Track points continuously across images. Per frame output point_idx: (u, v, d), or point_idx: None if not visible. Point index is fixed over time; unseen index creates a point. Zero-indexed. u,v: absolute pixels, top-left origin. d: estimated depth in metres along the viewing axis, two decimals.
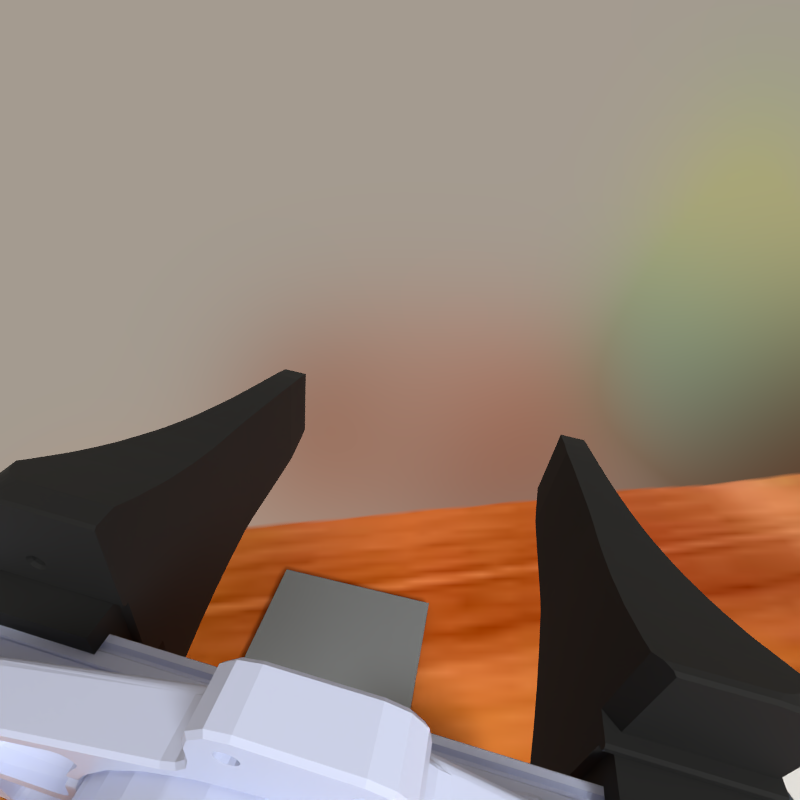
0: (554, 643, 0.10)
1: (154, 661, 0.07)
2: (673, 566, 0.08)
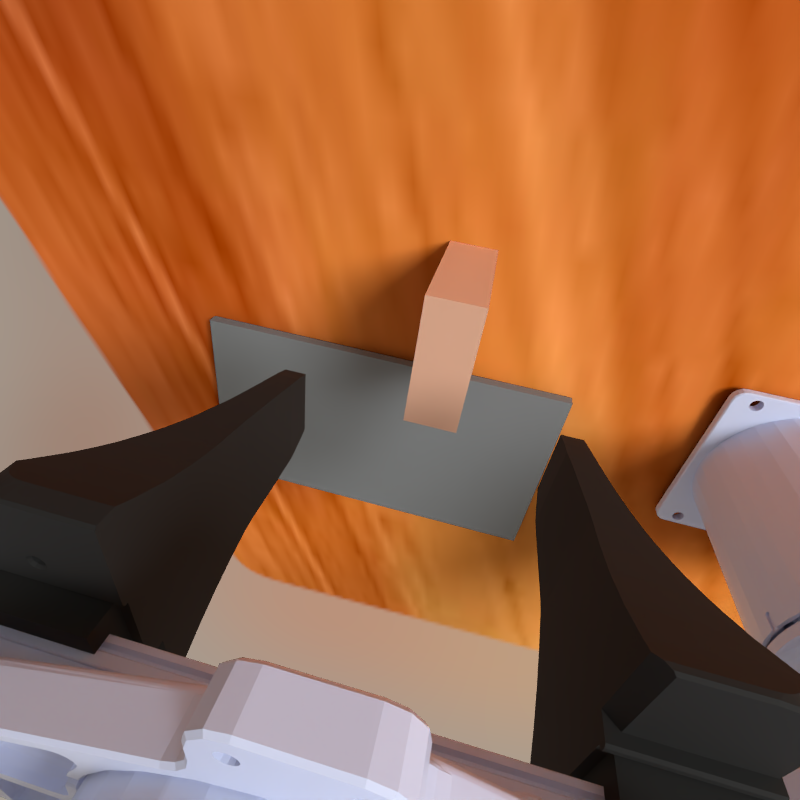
0: (554, 643, 0.10)
1: (154, 661, 0.07)
2: (673, 566, 0.08)
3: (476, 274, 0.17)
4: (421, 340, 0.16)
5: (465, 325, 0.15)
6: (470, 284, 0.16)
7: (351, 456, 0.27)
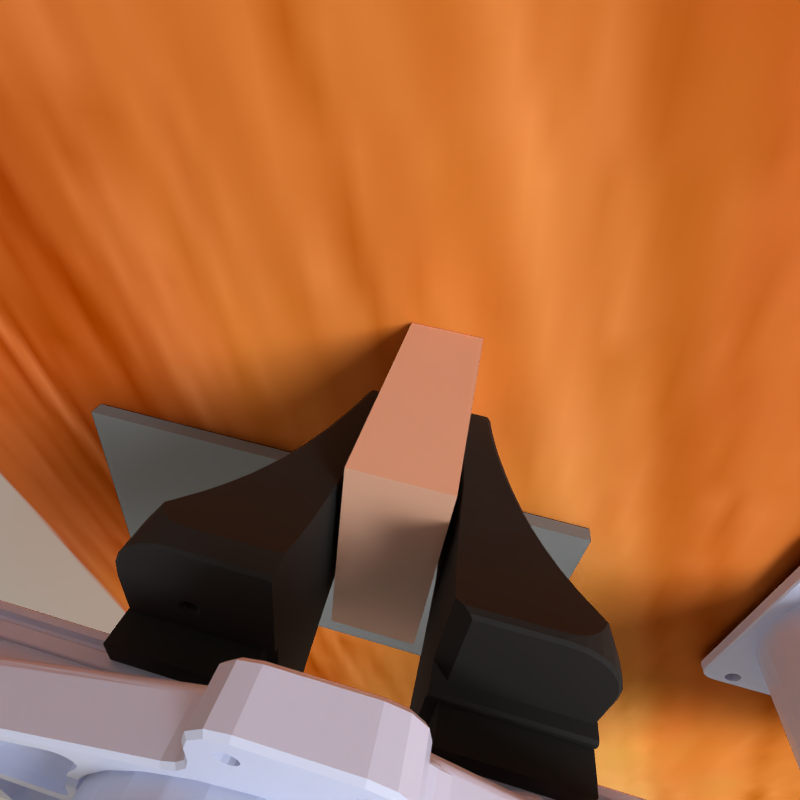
0: (433, 609, 0.10)
1: None
2: (529, 529, 0.09)
3: (444, 400, 0.10)
4: (346, 528, 0.09)
5: (418, 515, 0.09)
6: (431, 427, 0.10)
7: None
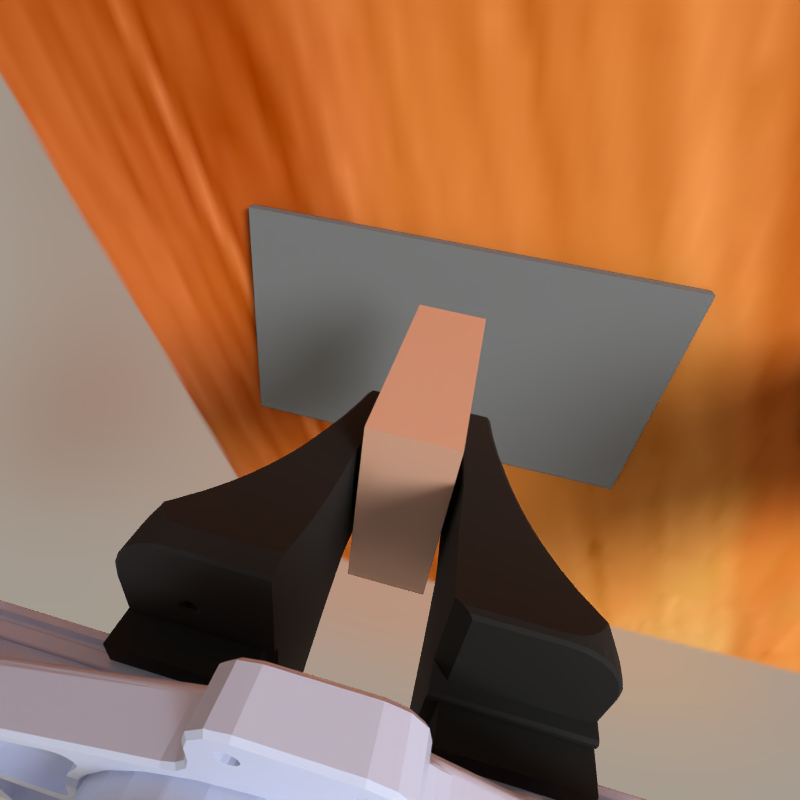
0: (433, 609, 0.10)
1: None
2: (529, 529, 0.09)
3: (451, 372, 0.11)
4: (364, 484, 0.10)
5: (429, 470, 0.10)
6: (440, 395, 0.11)
7: None
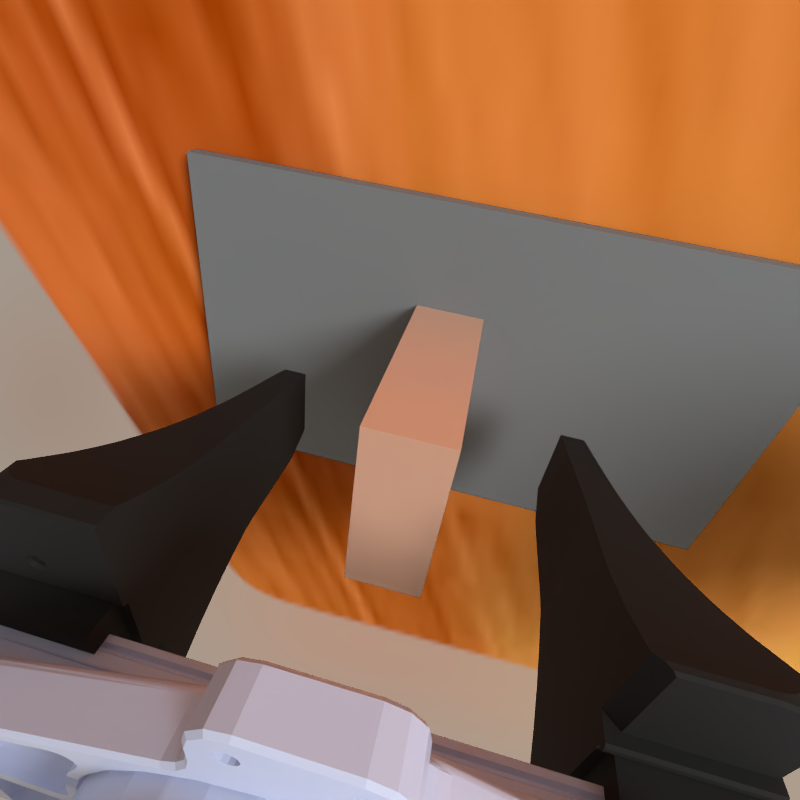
0: (554, 643, 0.10)
1: (154, 661, 0.07)
2: (673, 566, 0.08)
3: (448, 371, 0.11)
4: (360, 485, 0.10)
5: (425, 471, 0.10)
6: (436, 394, 0.10)
7: None
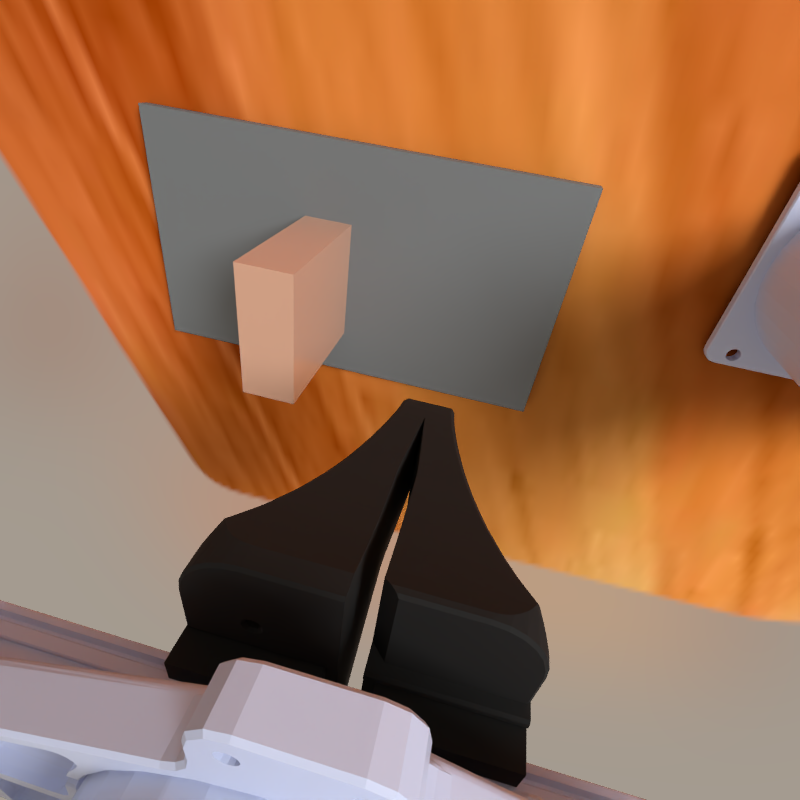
0: None
1: (154, 661, 0.07)
2: (476, 515, 0.09)
3: (307, 245, 0.17)
4: (240, 309, 0.16)
5: (276, 292, 0.15)
6: (292, 253, 0.16)
7: None
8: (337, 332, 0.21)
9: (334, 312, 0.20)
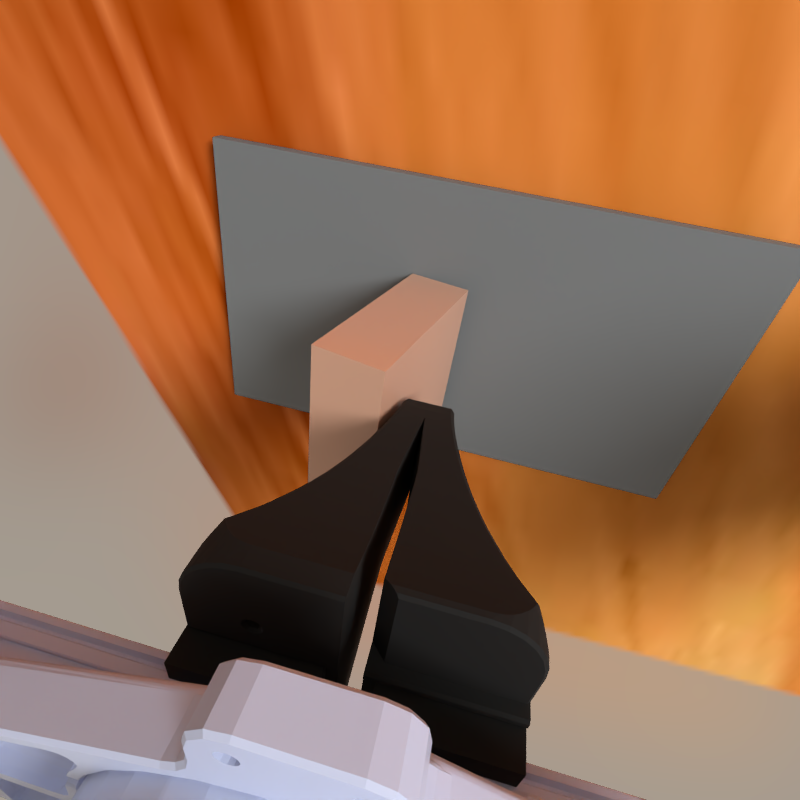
0: None
1: (154, 661, 0.07)
2: (476, 515, 0.09)
3: (410, 320, 0.13)
4: (314, 399, 0.12)
5: (360, 389, 0.11)
6: (389, 333, 0.12)
7: None
8: None
9: (432, 394, 0.16)
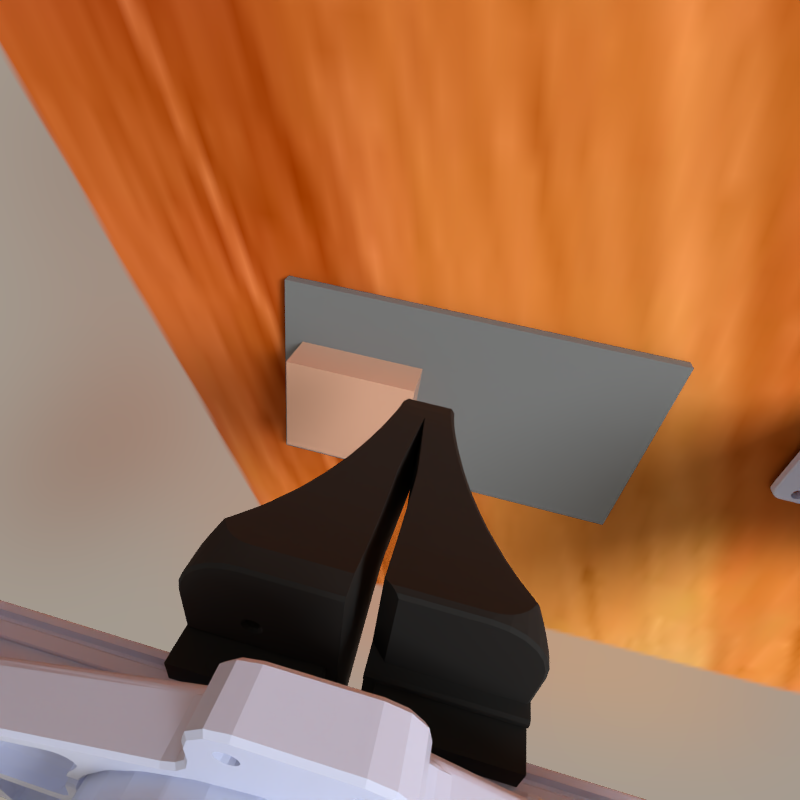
0: None
1: (154, 661, 0.07)
2: (477, 515, 0.09)
3: (347, 368, 0.22)
4: None
5: None
6: (326, 361, 0.22)
7: None
8: None
9: None
